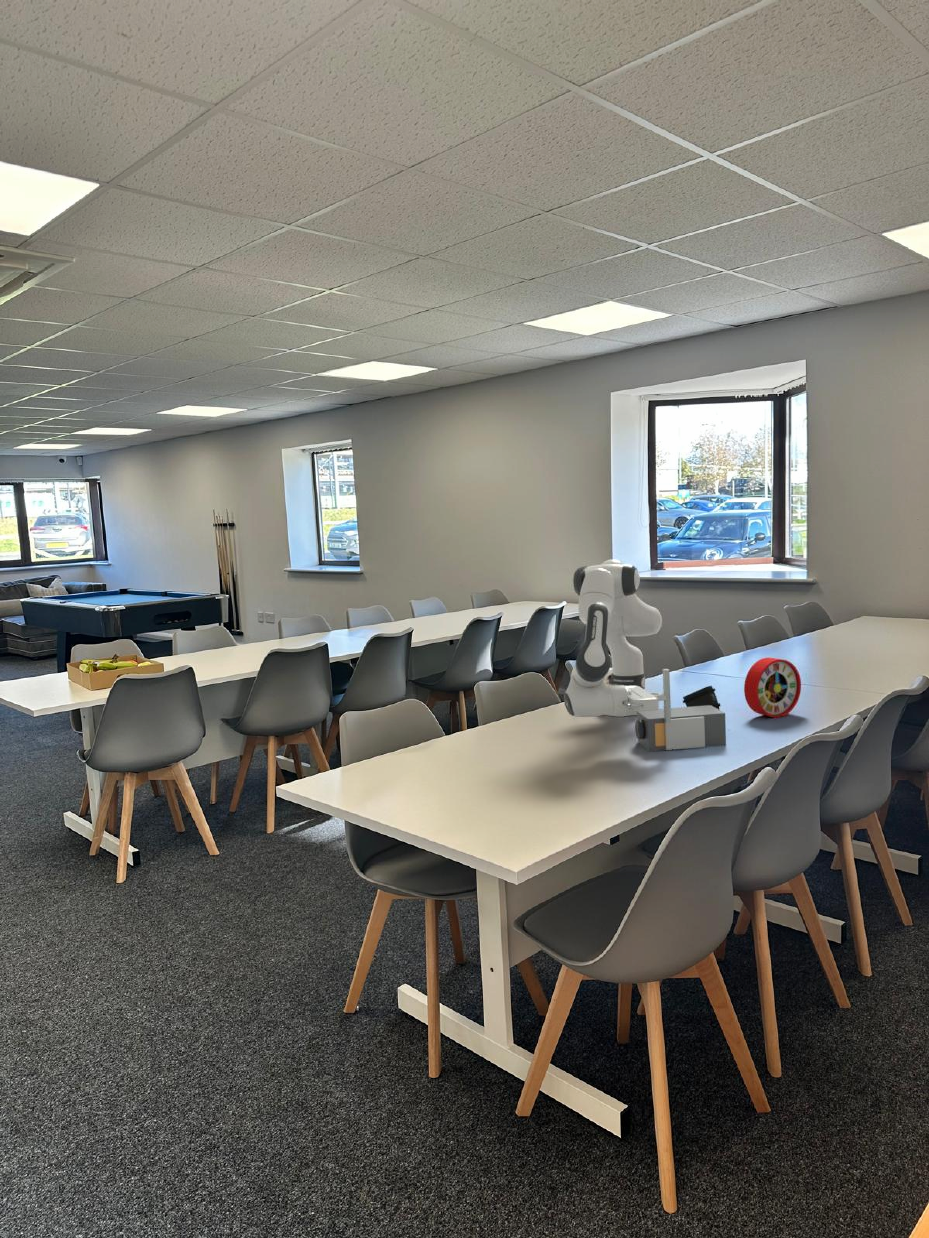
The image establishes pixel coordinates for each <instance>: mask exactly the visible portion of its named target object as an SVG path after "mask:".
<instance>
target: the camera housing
mask: <svg viewBox="0 0 929 1238" xmlns="http://www.w3.org/2000/svg"><path fill="white" fill-rule="evenodd" d="M719 709H720V708H719ZM719 709H717V708H715V707H713V706H711V705H706V706H693V707H687V706H681V707H671V719H678V718H691V717H704V727H705V747H704V748H708V747H709V746H710V747H718V746H719V747H720V746H727V736H726V735H727V732H726V731H727V730H726V726H727V725H726V712H724V711H722V710H721V709H720V710H719ZM634 730H635V731H634V732H635V735H636V738H637V742H638V744H640V745H641V746H642V747H643V748H645V749H646V750H647V749H648V750H649V751H648V750H647V751H648V752H656V751H655V750H661V751H667V750H666V745H665V721H664V708H660V709H658V710H656V711H637V715H636V720H635V724H634ZM707 746H708V747H707ZM697 748H699V747H697ZM684 749H687V748H684Z"/></svg>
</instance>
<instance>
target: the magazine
mask: <svg viewBox="0 0 929 1238" xmlns="http://www.w3.org/2000/svg"><path fill="white" fill-rule="evenodd" d="M715 691H716V687H715V688H713V686H712V685H708V686H704V687H703V688H701V689H698V690H696V691H694V692H691V693H689V694H687V695H685V696H683V697H682V698H683V700H682V703H683V704H684V705H685V707H693V706H706V705H711V706H713V707H715V708H717V709H719V710H720V711H721V709H720V707H721V706H722V705H721V703H719V702H718V699H717V698H718V697H717V695H716V693H715Z"/></svg>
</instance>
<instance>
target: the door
mask: <svg viewBox="0 0 929 1238" xmlns="http://www.w3.org/2000/svg"><path fill="white" fill-rule="evenodd" d="M670 677H671V675H670V669H668V668H662V688H663V689H662V690H663V692H662V693H663V694H664V695H665V696H666V700H665V701H663V709H664V721H665V745H666V750H665V751H670V750H671V751H672V749H673V750H683V749H684V748H686V749H695V748H697V747H698V748H706V747H705V727H704V717H691V718H678V719H671V708H672V707H671V706H672V705H671V703H672V701H671V679H670Z"/></svg>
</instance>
